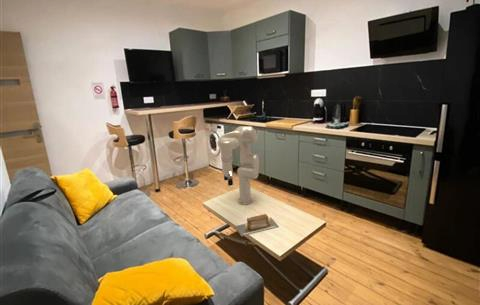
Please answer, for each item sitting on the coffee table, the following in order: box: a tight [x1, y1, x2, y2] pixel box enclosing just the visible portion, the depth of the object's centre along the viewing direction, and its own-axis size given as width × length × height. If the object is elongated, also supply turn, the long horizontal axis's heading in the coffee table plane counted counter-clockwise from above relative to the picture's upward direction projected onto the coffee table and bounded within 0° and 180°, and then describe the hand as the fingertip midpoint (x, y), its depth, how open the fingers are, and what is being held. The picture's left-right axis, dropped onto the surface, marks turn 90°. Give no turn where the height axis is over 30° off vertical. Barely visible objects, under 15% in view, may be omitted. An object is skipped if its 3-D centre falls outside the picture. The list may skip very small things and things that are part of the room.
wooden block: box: [246, 213, 269, 231], centre depth 165 cm, size 4×14×8 cm, turn 109°
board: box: [235, 217, 280, 237], centre depth 167 cm, size 13×28×6 cm, turn 109°
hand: (228, 182), depth 163 cm, fingers open, 9 cm apart
